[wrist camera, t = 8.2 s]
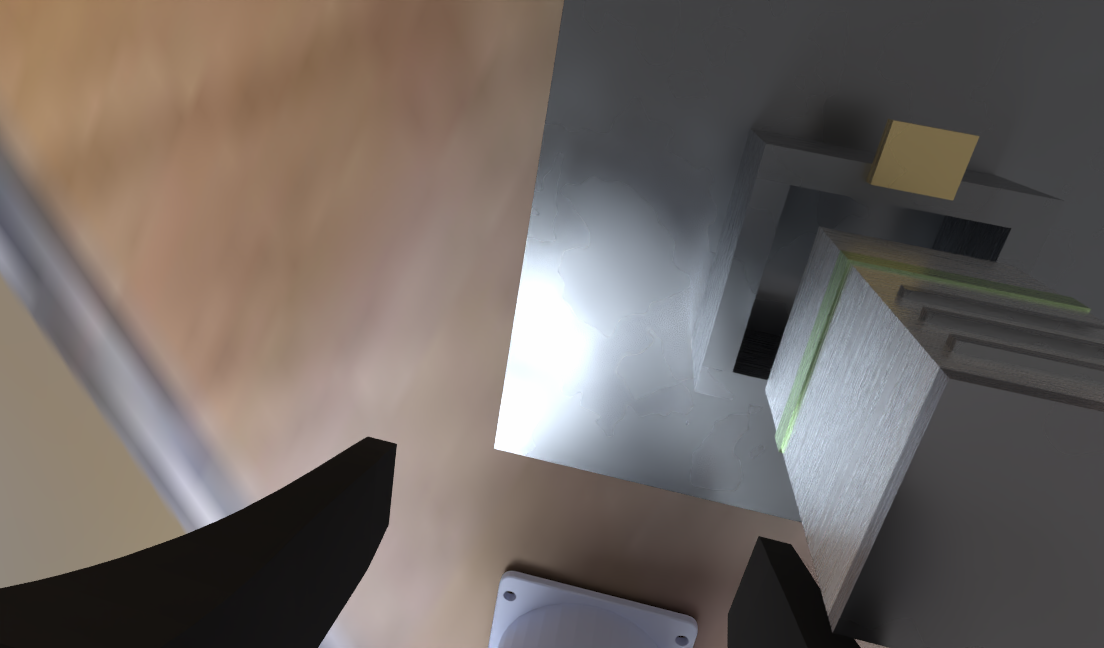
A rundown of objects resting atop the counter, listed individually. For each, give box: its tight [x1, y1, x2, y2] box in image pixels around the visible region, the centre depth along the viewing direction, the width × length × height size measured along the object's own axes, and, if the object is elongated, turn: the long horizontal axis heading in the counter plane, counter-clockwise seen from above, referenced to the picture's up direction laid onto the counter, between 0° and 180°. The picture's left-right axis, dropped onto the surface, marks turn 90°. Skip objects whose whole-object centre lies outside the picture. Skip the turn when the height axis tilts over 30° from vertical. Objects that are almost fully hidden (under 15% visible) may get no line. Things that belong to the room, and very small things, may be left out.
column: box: [765, 227, 1104, 648], centre depth 12 cm, size 4×4×7 cm
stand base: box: [494, 0, 1104, 522], centre depth 18 cm, size 18×18×5 cm
